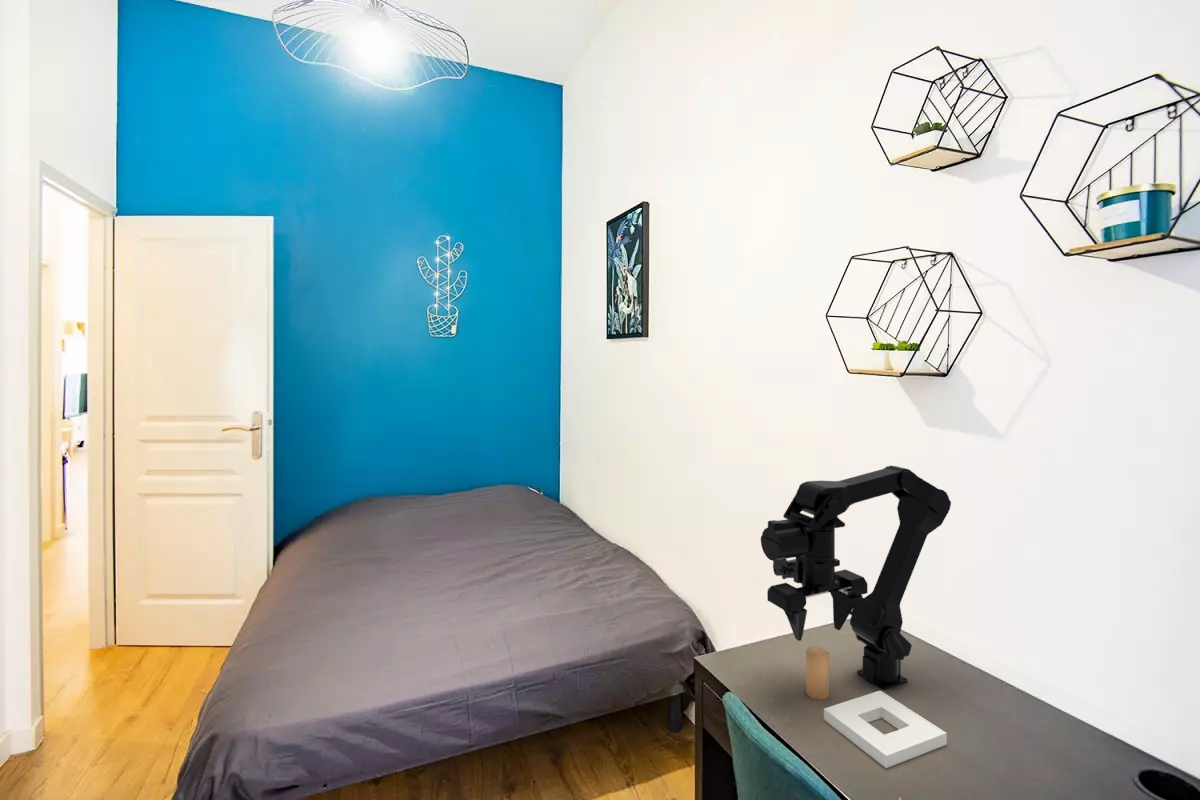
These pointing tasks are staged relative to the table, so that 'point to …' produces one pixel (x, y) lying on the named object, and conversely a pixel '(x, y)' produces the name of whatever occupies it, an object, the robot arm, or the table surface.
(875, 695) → the frame
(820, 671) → the peg
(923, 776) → the table surface
